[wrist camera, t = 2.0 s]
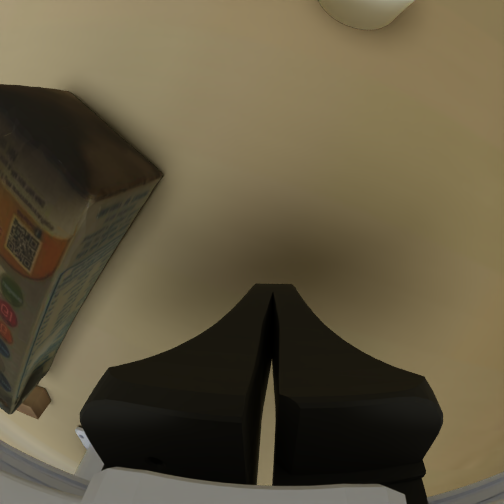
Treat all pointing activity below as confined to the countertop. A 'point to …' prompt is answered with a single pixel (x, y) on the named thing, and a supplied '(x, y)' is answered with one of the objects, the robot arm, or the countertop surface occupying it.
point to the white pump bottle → (365, 12)
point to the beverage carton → (56, 222)
